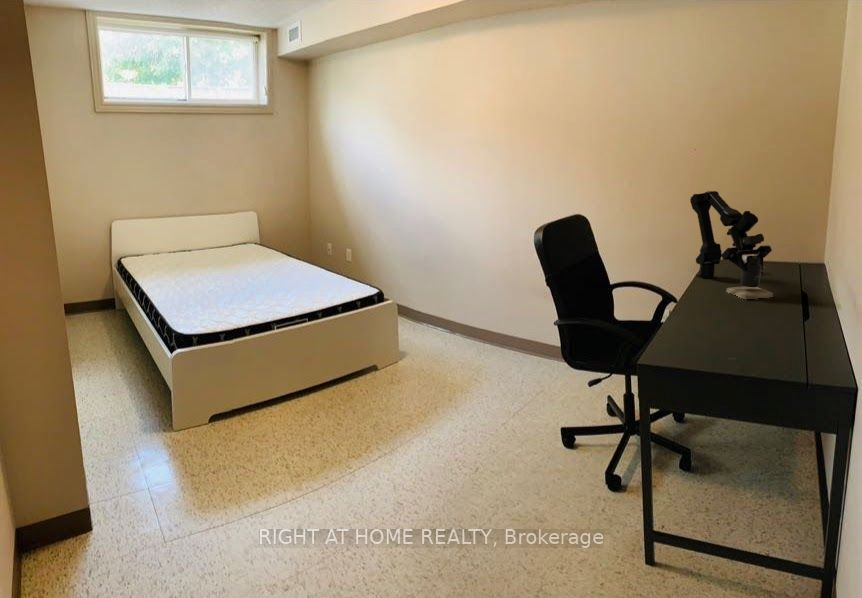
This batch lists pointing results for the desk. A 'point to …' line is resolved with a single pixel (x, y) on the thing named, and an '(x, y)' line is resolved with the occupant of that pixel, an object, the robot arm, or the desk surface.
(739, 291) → the base slab
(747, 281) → the supplement bottle
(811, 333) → the desk surface
